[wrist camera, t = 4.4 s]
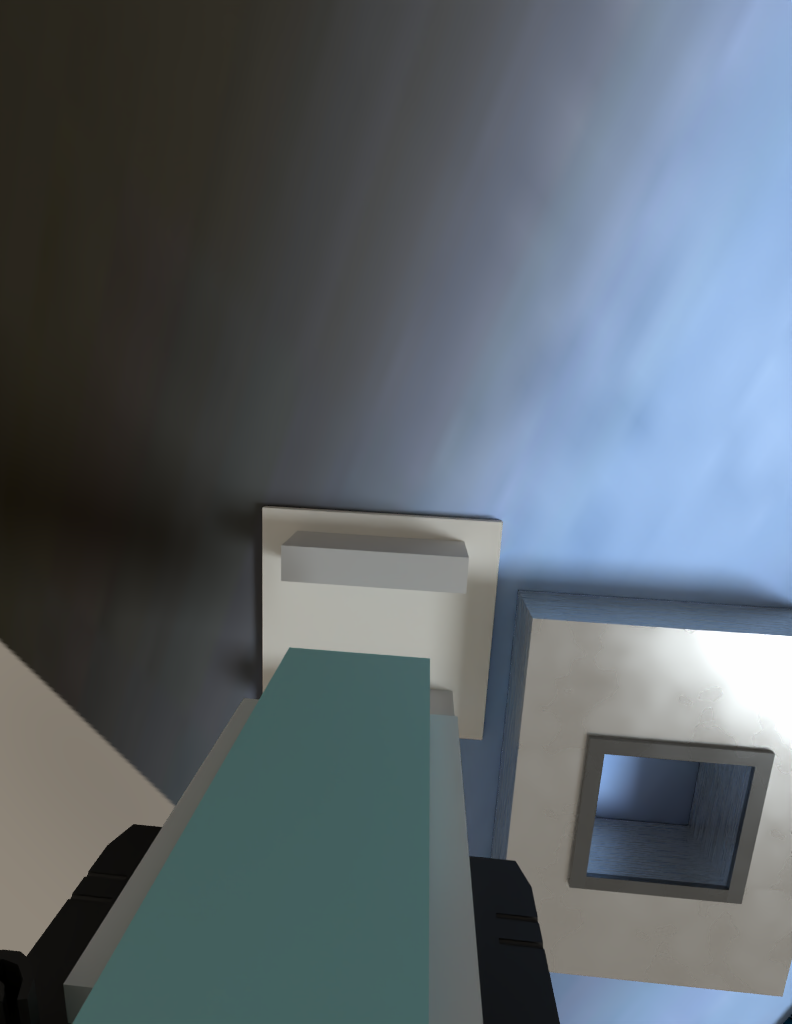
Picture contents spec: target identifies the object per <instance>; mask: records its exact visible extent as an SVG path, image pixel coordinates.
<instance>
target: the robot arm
mask: <svg viewBox="0 0 792 1024" xmlns="http://www.w3.org/2000/svg"><path fill="white" fill-rule="evenodd" d="M258 701H259V699H247V698H244V699H243V700H242V702H241V703H240V705H239V707H238V708H237V710H236V711H235V713H234V714H233V716H232V718H231V719H230V721H229V722H228V724H227V726H226V727H225V729H224V730H223V732H222V733H221V735H220V737H219V738H218V740H217V741H216V743H215V745H214V746H213V748H212V749H211V751H210V753H209V754H208V756H207V757H206V759H205V760H204V762H203V764H202V765H201V767H200V768H199V770H198V772H197V773H196V775H195V776H194V778H193V779H192V781H191V783H190V784H189V786H188V787H187V789H186V791H185V792H184V794H183V795H182V797H181V798H180V800H179V802H178V803H177V805H176V806H175V808H174V810H173V811H172V813H171V814H170V816H169V818H168V819H167V821H166V822H165V824H164V826H163V827H155V826H146V825H136V824H133V825H132V826H131V827H130V828H128V829H127V830H126V831H125V832H123V833H122V834H121V835H120V836H118V837H117V838H116V839H115V840H113V841H112V842H111V843H110V844H109V845H107V847H106V848H105V850H104V851H103V852H102V854H101V855H100V856H99V858H98V859H97V861H96V862H95V863H94V865H93V866H92V867H91V869H90V870H89V872H88V875H87V877H84V878H83V880H82V881H81V882H80V884H79V885H78V887H77V888H76V889H75V891H74V892H73V894H72V897H71V899H68V900H67V902H66V903H65V904H64V906H63V907H62V909H61V910H60V911H59V913H58V914H57V915H56V917H55V918H54V919H53V921H52V922H51V924H50V925H49V926H48V928H47V929H46V930H45V932H44V933H43V935H42V936H41V937H40V939H39V940H38V941H37V943H36V944H35V945H34V947H33V948H32V950H31V951H30V952H29V954H28V955H27V956H25V955H24V954H23V953H21V952H20V951H10V950H0V1024H72V1023H73V1022H74V1020H75V1018H76V1016H77V1015H78V1013H79V1011H80V1009H81V1008H82V1006H83V1004H84V1002H85V1001H86V999H87V997H88V996H89V994H90V992H91V990H92V989H93V987H94V985H95V983H96V982H97V980H98V978H99V976H100V975H101V973H102V971H103V970H104V968H105V966H106V964H107V963H108V961H109V959H110V957H111V956H112V954H113V952H114V950H115V949H116V947H117V945H118V944H119V942H120V940H121V938H122V937H123V935H124V933H125V931H126V930H127V928H128V926H129V924H130V923H131V921H132V919H133V918H134V916H135V914H136V912H137V911H138V909H139V907H140V905H141V904H142V902H143V900H144V898H145V897H146V895H147V893H148V892H149V890H150V888H151V886H152V885H153V883H154V881H155V879H156V878H157V876H158V874H159V872H160V871H161V869H162V867H163V866H164V864H165V862H166V860H167V859H168V857H169V855H170V853H171V852H172V850H173V848H174V846H175V845H176V843H177V841H178V840H179V838H180V836H181V834H182V833H183V831H184V829H185V827H186V826H187V824H188V822H189V820H190V819H191V817H192V815H193V814H194V812H195V810H196V808H197V807H198V805H199V803H200V801H201V800H202V798H203V796H204V794H205V793H206V791H207V789H208V788H209V786H210V784H211V782H212V781H213V779H214V777H215V775H216V774H217V772H218V770H219V768H220V767H221V765H222V763H223V762H224V760H225V758H226V756H227V755H228V753H229V751H230V749H231V748H232V746H233V744H234V742H235V741H236V739H237V737H238V736H239V734H240V732H241V730H242V729H243V727H244V725H245V723H246V722H247V720H248V718H249V716H250V715H251V713H252V711H253V710H254V708H255V706H256V704H257V703H258ZM429 1024H560V1022H559V1017H558V1012H557V1007H556V1003H555V998H554V993H553V988H552V983H551V978H550V973H549V969H548V964H547V959H546V954H545V949H543V940H542V935H541V930H540V925H539V923H538V915H537V911H536V906H535V901H534V896H533V891H532V887H531V885H530V884H529V882H528V880H527V879H526V877H525V875H524V874H523V872H522V870H521V869H520V867H519V866H518V864H517V862H516V861H513V860H503V859H493V858H483V857H473V856H469V848H468V836H467V824H466V812H465V800H464V788H463V776H462V764H461V752H460V740H459V728H458V716H448V715H436V714H430V806H429Z"/></svg>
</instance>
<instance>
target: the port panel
mask: <svg viewBox="0 0 792 1024" xmlns="http://www.w3.org/2000/svg"><path fill="white" fill-rule="evenodd" d="M604 754H611V755H623V756H635V757H647V758H659V759H670V760H682V761H694V762H700V766H699V772H698V777H697V782H696V787H695V792H694V798H693V803H692V808H691V813H690V819H689V824H688V826H684V825H673V824H662V823H651V822H640V821H629V820H618V819H606V818H595V814H596V807H597V801H598V794H599V787H600V780H601V774H602V767H603V760H604ZM491 858H493V859H503V860H513V861H516V862H517V864H518V866H519V867H520V869H521V870H522V872H523V874H524V875H525V877H526V879H527V880H528V882H529V884H530V885H531V887H532V891H533V896H534V901H535V906H536V911H537V915H538V923H539V925H540V930H541V935H542V940H543V949H545V954H546V959H547V964H548V969H549V972H554V973H564V974H573V975H583V976H592V977H602V978H611V979H621V980H630V981H640V982H649V983H658V984H668V985H677V986H687V987H696V988H706V989H715V990H725V991H734V992H744V993H753V994H763V995H772V996H783V992H784V988H785V984H786V980H787V976H788V972H789V968H790V964H791V960H792V609H784V608H770V607H755V606H740V605H726V604H711V603H696V602H682V601H667V600H653V599H638V598H623V597H609V596H594V595H580V594H565V593H550V592H536V591H521V590H518V600H517V609H516V619H515V629H514V638H513V648H512V658H511V667H510V677H509V687H508V696H507V706H506V716H505V726H504V735H503V745H502V755H501V764H500V774H499V784H498V793H497V803H496V813H495V822H494V832H493V842H492V851H491Z"/></svg>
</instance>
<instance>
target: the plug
mask: <svg viewBox="0 0 792 1024" xmlns="http://www.w3.org/2000/svg"><path fill="white" fill-rule="evenodd" d="M429 806H430V658H418V657H405V656H393V655H380V654H367V653H355V652H342V651H329V650H316V649H304V648H291V647H289V649H288V651H287V652H286V654H285V656H284V657H283V659H282V661H281V663H280V664H279V666H278V668H277V670H276V671H275V673H274V675H273V677H272V678H271V680H270V682H269V683H268V685H267V687H266V689H265V690H264V692H263V694H262V696H261V697H260V699H259V701H258V703H257V704H256V706H255V708H254V710H253V711H252V713H251V715H250V716H249V718H248V720H247V722H246V723H245V725H244V727H243V729H242V730H241V732H240V734H239V736H238V737H237V739H236V741H235V742H234V744H233V746H232V748H231V749H230V751H229V753H228V755H227V756H226V758H225V760H224V762H223V763H222V765H221V767H220V768H219V770H218V772H217V774H216V775H215V777H214V779H213V781H212V782H211V784H210V786H209V788H208V789H207V791H206V793H205V794H204V796H203V798H202V800H201V801H200V803H199V805H198V807H197V808H196V810H195V812H194V814H193V815H192V817H191V819H190V820H189V822H188V824H187V826H186V827H185V829H184V831H183V833H182V834H181V836H180V838H179V840H178V841H177V843H176V845H175V846H174V848H173V850H172V852H171V853H170V855H169V857H168V859H167V860H166V862H165V864H164V866H163V867H162V869H161V871H160V872H159V874H158V876H157V878H156V879H155V881H154V883H153V885H152V886H151V888H150V890H149V892H148V893H147V895H146V897H145V898H144V900H143V902H142V904H141V905H140V907H139V909H138V911H137V912H136V914H135V916H134V918H133V919H132V921H131V923H130V924H129V926H128V928H127V930H126V931H125V933H124V935H123V937H122V938H121V940H120V942H119V944H118V945H117V947H116V949H115V950H114V952H113V954H112V956H111V957H110V959H109V961H108V963H107V964H106V966H105V968H104V970H103V971H102V973H101V975H100V976H99V978H98V980H97V982H96V983H95V985H94V987H93V989H92V990H91V992H90V994H89V996H88V997H87V999H86V1001H85V1002H84V1004H83V1006H82V1008H81V1009H80V1011H79V1013H78V1015H77V1016H76V1018H75V1020H74V1022H73V1023H72V1024H429Z"/></svg>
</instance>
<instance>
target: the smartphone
mask: <svg viewBox="0 0 792 1024" xmlns="http://www.w3.org/2000/svg"><path fill="white" fill-rule="evenodd" d="M791 1016H792V1015H791ZM783 1024H792V1018H791V1017H789V1018H788V1019H787V1020H786V1021H785V1022H784V1023H783Z"/></svg>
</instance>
